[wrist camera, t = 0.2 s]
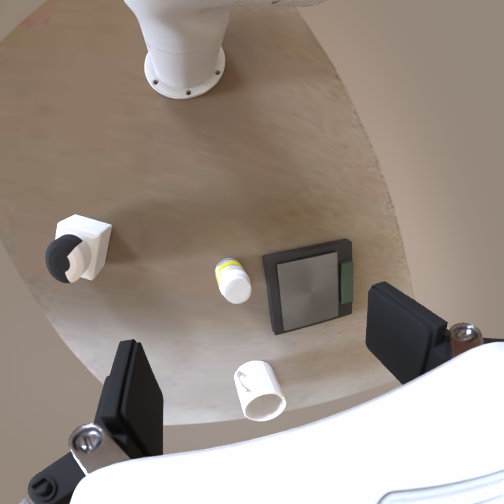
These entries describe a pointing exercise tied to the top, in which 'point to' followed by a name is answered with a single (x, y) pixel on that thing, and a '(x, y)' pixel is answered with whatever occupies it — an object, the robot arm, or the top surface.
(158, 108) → the top surface
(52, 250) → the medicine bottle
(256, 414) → the mug
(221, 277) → the supplement bottle
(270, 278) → the scale
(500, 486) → the robot arm
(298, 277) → the scale pan
